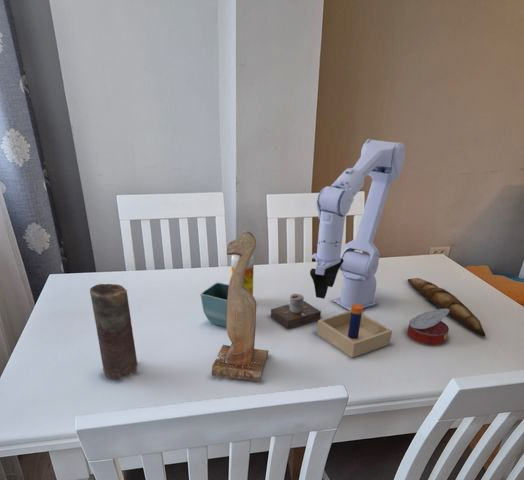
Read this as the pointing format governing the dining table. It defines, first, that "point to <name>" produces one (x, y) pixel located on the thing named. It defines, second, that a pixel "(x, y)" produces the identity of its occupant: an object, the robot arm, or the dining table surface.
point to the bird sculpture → (240, 320)
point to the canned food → (429, 327)
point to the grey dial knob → (296, 303)
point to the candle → (114, 330)
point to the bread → (448, 304)
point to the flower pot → (216, 303)
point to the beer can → (249, 272)
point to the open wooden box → (368, 338)
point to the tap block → (295, 315)
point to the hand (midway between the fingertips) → (324, 291)
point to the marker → (355, 321)
